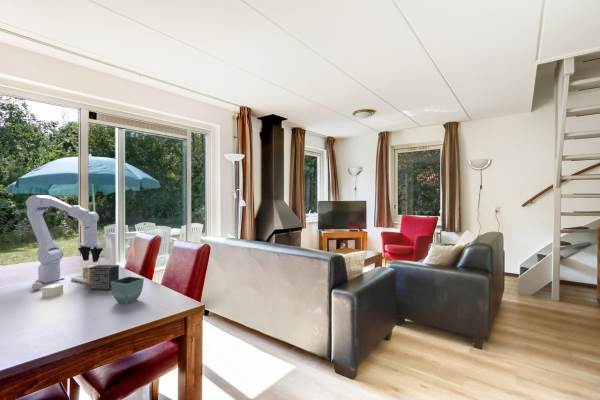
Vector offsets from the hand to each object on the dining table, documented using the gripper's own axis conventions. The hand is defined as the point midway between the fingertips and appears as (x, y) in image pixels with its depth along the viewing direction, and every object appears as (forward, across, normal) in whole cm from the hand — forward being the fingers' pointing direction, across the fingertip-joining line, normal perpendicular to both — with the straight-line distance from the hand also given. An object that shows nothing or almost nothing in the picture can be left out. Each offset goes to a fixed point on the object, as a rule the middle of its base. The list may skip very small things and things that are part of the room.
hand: (90, 261), depth 154 cm
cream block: (+10, +9, -22) cm, 26 cm away
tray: (+9, 0, 0) cm, 9 cm away
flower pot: (+10, +47, -15) cm, 50 cm away
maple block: (+9, 0, 0) cm, 9 cm away
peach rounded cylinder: (+9, +9, -5) cm, 14 cm away
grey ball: (+8, -5, -21) cm, 23 cm away
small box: (+10, +21, -7) cm, 24 cm away
